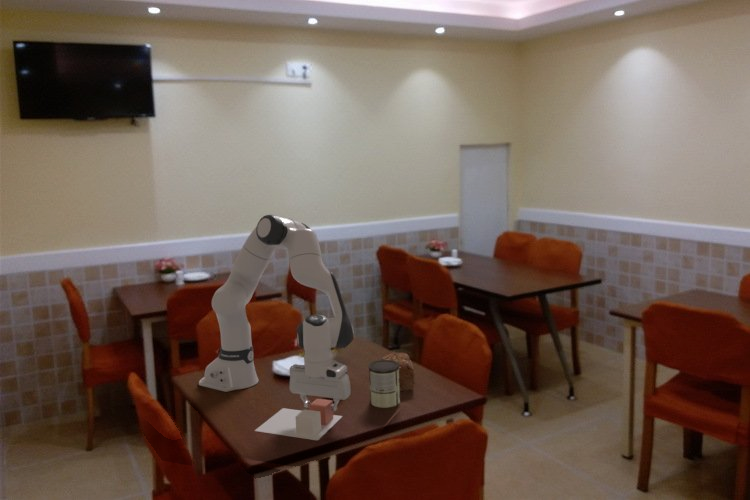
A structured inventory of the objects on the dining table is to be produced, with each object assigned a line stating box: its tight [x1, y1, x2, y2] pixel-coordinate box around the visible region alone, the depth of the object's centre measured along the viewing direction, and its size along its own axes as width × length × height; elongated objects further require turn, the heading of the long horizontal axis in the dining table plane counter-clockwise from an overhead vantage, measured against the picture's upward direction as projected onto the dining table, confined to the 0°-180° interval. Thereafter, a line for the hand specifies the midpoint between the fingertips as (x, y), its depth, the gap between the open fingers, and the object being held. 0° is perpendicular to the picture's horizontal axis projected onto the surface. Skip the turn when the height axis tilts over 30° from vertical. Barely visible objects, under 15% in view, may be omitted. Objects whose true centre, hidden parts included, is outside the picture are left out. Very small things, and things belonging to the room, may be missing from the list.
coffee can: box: [368, 359, 401, 409], centre depth 220 cm, size 10×10×14 cm
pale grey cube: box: [296, 408, 321, 438], centre depth 200 cm, size 6×6×6 cm
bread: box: [381, 352, 415, 392], centre depth 240 cm, size 19×11×10 cm, turn 4°
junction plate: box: [254, 407, 343, 441], centre depth 207 cm, size 22×18×1 cm
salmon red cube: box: [308, 398, 334, 425], centre depth 208 cm, size 6×6×6 cm
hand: (320, 408), depth 208 cm, fingers open, 8 cm apart
